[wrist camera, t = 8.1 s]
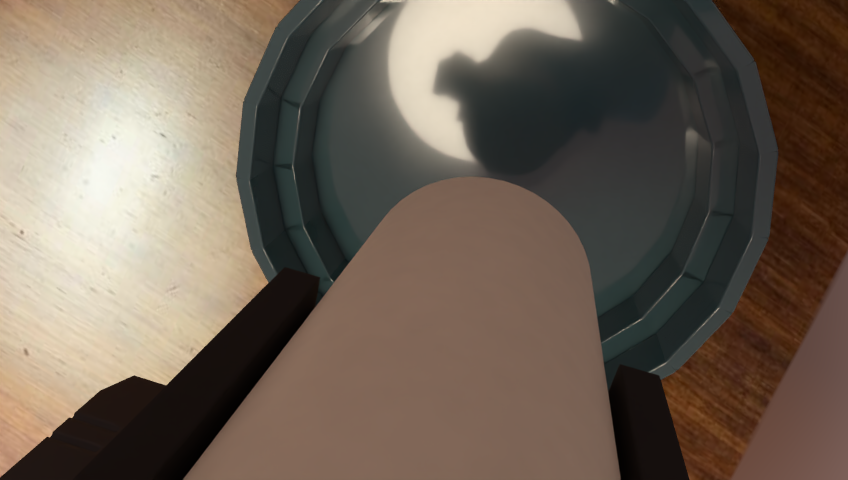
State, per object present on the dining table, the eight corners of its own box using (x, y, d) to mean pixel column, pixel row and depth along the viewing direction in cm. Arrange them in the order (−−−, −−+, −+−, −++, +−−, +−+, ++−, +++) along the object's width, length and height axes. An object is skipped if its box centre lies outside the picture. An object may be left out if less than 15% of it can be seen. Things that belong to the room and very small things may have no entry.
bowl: (819, -10, 22) (891, -13, 18) (636, 406, 30) (652, 480, 25) (319, -123, 24) (266, -152, 19) (266, 298, 31) (218, 350, 27)
